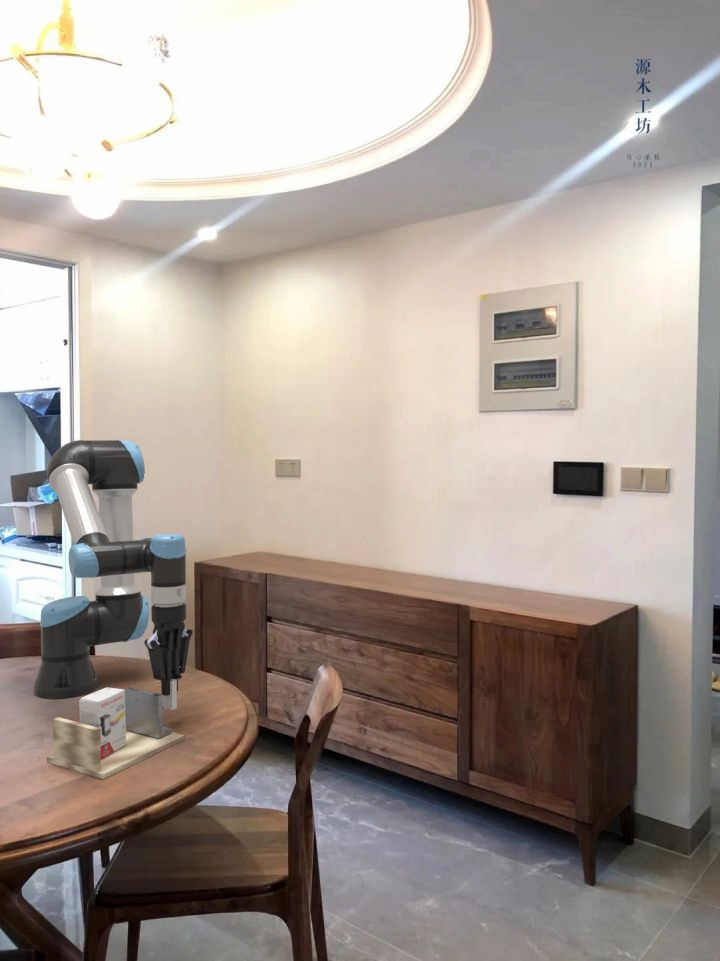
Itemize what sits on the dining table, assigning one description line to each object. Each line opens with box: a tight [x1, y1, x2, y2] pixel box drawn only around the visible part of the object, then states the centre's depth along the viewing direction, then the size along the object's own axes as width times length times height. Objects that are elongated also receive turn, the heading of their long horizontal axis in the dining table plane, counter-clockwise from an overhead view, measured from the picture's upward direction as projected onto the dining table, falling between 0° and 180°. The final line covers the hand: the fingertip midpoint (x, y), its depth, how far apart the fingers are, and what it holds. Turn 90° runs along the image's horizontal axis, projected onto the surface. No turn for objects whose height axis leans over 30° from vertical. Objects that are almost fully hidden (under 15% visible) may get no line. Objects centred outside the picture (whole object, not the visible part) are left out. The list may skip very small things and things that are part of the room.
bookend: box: [123, 686, 174, 738], centre depth 161 cm, size 10×4×9 cm, turn 60°
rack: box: [46, 716, 185, 780], centre depth 153 cm, size 16×22×9 cm
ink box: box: [78, 687, 126, 759], centre depth 150 cm, size 9×5×12 cm, turn 160°
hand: (170, 708), depth 166 cm, fingers closed
